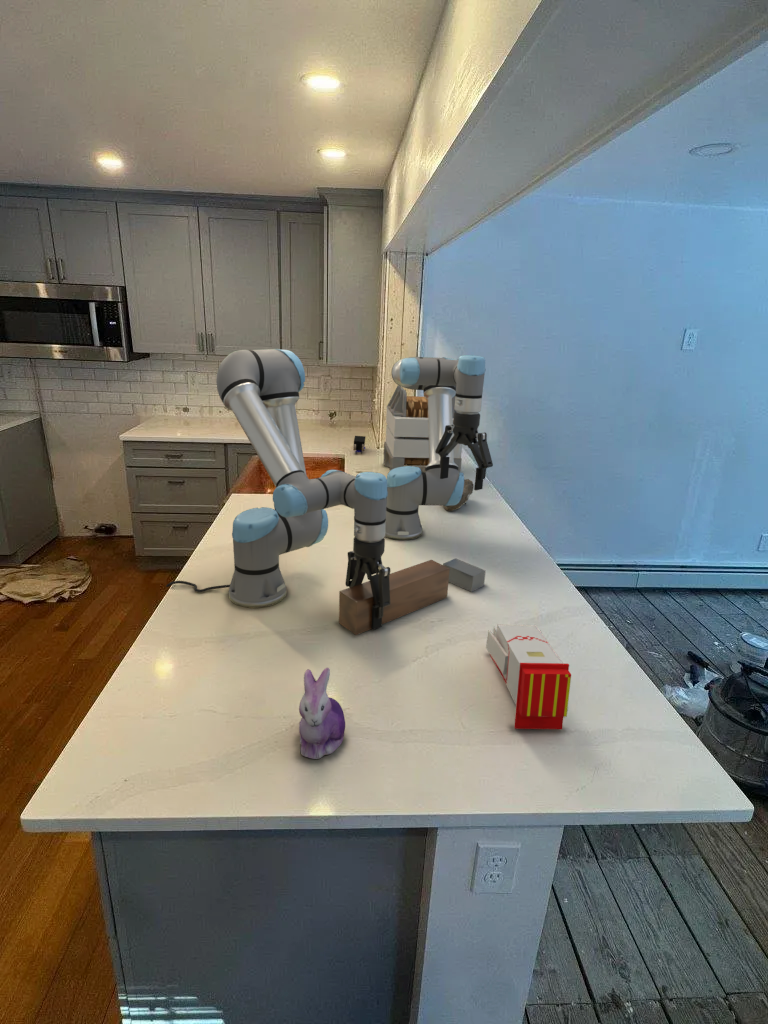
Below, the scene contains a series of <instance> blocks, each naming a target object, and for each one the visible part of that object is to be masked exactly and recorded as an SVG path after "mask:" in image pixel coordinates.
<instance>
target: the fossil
mask: <svg viewBox="0 0 768 1024" xmlns="http://www.w3.org/2000/svg"><path fill="white" fill-rule="evenodd" d="M474 486H475V483H474V482H473V480H471V479H469V478H466V479H465V478H464V488H463V493H462V497H461V500H460V502H459V503H458V504H457V505H450V506H442V507H443V508H444V510H445V511H447V512H452V511H456V510H458V509H460V508H461V507H462V506H463V505H467V503H466V502H468V500H469V498H470V496H471V495H472V494H473V491H474Z"/></svg>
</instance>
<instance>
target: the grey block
mask: <svg viewBox="0 0 768 1024" xmlns="http://www.w3.org/2000/svg"><path fill="white" fill-rule="evenodd" d="M442 565H444V566H446V567H448V568H450V570H449V581H448V583H450V584H452V585H454V586H457V587H459V588H462V589H464V590H466V591H469V592H470V593H473V592H475V591H476V590H478V589H481V588H482V587H484V586H485V580H486V570H485V569H483V568H481V567H478V566H476V565H474V564H471V563H468V562H465V561H463V560H461V559H460V558H459V559H458V558H452V559H451V560H448V561H446V562H443V563H442Z"/></svg>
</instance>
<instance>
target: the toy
mask: <svg viewBox="0 0 768 1024" xmlns="http://www.w3.org/2000/svg"><path fill="white" fill-rule="evenodd" d="M486 636H487V637H486V638H487V639H486V644H485V645H486V646H485V649H486V650H487V652H488V653H489V656H490V658H491V660H492V661H493V663H494V665H495V667H496V669H497V670H498V672H499V674H500V676H501V678H502V679H503V681H504V683H505V684H506V687H507V689H508V691H509V694H510V696H511V698H512V700H513V702H514V704H515V715H514V730H563V723H564V717H565V718H566V717H567V716H568V709H569V699H570V692H571V691H570V690H571V682H572V681H571V680H572V673H571V671H569V670H570V669H569V668H570V664H569V663H564V662H563V661H562V659H561V658H560V657H559V655H558V654H557V652H556V651H555V650H554V648H553V647H552V646H551V644H550V643H549V641H548V640H547V638H546V637H545V636H544V634H543V633H542V631H541V630H540V629H539V628H538V626H537V625H536V624H498V623H497V625H496V626H493V631H492V630H488V631H487V635H486Z"/></svg>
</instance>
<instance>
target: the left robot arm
mask: <svg viewBox="0 0 768 1024" xmlns="http://www.w3.org/2000/svg"><path fill="white" fill-rule="evenodd" d="M305 382H306V373H305V368H304V365H303V363H302V361H301V359H300V357H298V355H297V354H295V353H294V352H293V351H291V350H288V349H280V348H269V349H268V348H267V349H264V348H263V349H239V350H235V351H232V352H231V353H229V354H227V355H226V356H225V358H223V360H222V361H221V362H220V364H219V366H218V369H217V372H216V383H215V384H216V390H217V394H218V396H219V398H220V401H221V402H222V404H223V406H224V407H225V408H226V409H227V410H229V411H232V413H233V415H234V416H235V418H236V420H237V422H238V423H239V426H240V427H241V428H242V431H243V432H244V434H245V436H246V437H247V439H248V441H249V443H250V445H251V446H252V448H253V449H254V452H255V453H256V455H257V457H258V458H259V460H260V462H261V464H262V466H263V467H264V469H265V470H266V472H267V474H268V476H269V478H270V480H271V481H272V483H273V485H274V486H275V488H274V490H273V492H272V502H273V507H274V508H272V507H267V506H266V507H265V506H262V507H253V508H248V509H246V510H244V511H241V512H240V513H238V514H237V515H236V516H235V517H234V519H233V522H232V532H231V536H232V545H233V547H232V548H233V563H234V564H233V565H234V566H233V567H234V571H233V574H232V578H231V580H230V583H229V584H223V585H213V586H207V587H205V588H201V589H198V586H197V584H196V583H193V582H189V581H185V580H173V581H170V582H169V583H167V584H166V585H165V587H166V588H169V587H171V586H172V585H176V584H181V585H186V586H190V587H193V589H194V591H195V592H197V593H205V592H208V591H212V590H217V589H226V588H228V598H229V600H230V602H231V603H233V604H234V605H236V606H239V607H243V608H250V609H258V608H259V609H260V608H266V607H271V606H274V605H276V604H278V603H280V602H281V601H283V600H284V599H285V598H286V597H287V583H286V582H285V579H284V576H283V574H282V571H281V568H280V556H281V555H284V554H287V553H291V552H293V551H296V550H300V549H303V548H304V549H305V548H310V547H312V546H313V545H316V544H318V543H320V542H322V541H323V540H324V539H325V536H326V535H327V533H328V531H329V530H328V529H329V516H328V513H327V510H326V509H329V508H333V507H337V506H345V507H347V508H350V509H353V512H354V514H353V515H354V516H353V521H354V523H353V536H354V537H353V540H352V541H353V542H352V544H353V545H352V546H353V547H352V549H353V550H351V551H347V567H346V575H345V583H344V584H345V586H346V587H347V588H350V587H353V586H356V585H359V584H362V583H363V581H364V578H365V577H367V580H368V581H370V584H371V589H372V594H373V599H374V604H375V605H372V624H371V629H370V630H372V631H374V630H377V629H379V628H382V627H383V624H382V617H383V613H384V607H386V606H388V605H390V583H389V575H390V574H391V567H389V566H384V565H383V561H382V556H383V555H384V553H385V547H386V546H385V545H386V539H385V538H386V537H385V528H386V503H387V495H388V491H387V476H386V475H385V474H383V473H380V472H374V471H363V472H359V473H357V474H356V475H353V474H350V473H347V472H346V471H342V470H338V469H328V470H326V471H325V472H324V473H323V474H321V476H320V477H316V478H309V477H308V475H307V471H306V470H307V469H306V464H305V459H304V452H303V445H302V441H301V434H300V428H299V422H298V415H297V409H296V404H297V402H298V401H299V399H300V392H301V391H303V389H304V388H305Z"/></svg>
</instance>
